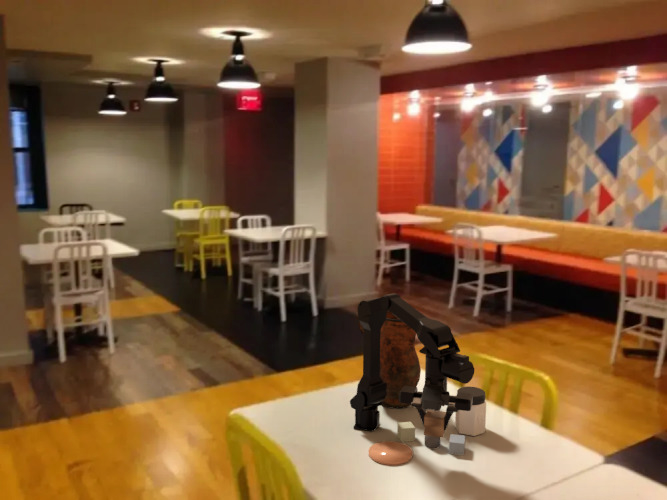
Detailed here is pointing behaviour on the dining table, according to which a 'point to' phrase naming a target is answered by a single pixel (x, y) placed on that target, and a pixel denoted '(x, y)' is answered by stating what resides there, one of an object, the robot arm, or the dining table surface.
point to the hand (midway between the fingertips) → (435, 428)
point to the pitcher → (397, 359)
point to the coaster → (390, 453)
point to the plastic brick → (456, 444)
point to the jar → (472, 413)
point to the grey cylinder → (432, 442)
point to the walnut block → (434, 423)
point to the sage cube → (406, 431)
